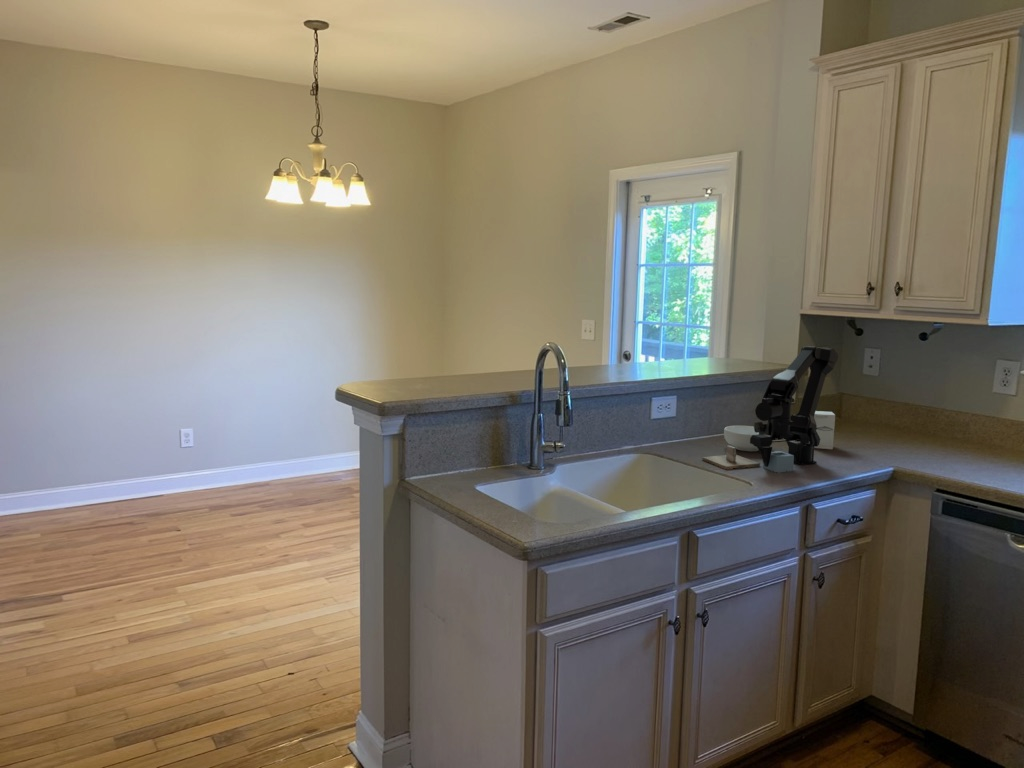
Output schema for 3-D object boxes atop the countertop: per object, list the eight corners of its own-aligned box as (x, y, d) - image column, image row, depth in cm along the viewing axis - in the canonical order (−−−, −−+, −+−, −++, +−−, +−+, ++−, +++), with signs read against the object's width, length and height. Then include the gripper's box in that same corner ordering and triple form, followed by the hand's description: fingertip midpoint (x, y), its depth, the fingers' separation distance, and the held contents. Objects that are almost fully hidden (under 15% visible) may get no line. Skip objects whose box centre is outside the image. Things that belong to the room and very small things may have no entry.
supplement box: (811, 448, 269) (813, 413, 267) (808, 444, 276) (810, 410, 275) (833, 449, 267) (835, 414, 266) (829, 445, 275) (832, 411, 273)
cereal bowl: (775, 455, 258) (776, 435, 257) (725, 453, 262) (726, 433, 261) (769, 445, 275) (770, 425, 274) (721, 442, 278) (722, 423, 277)
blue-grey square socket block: (779, 466, 244) (780, 450, 243) (793, 470, 238) (794, 455, 237) (763, 467, 242) (763, 452, 241) (776, 472, 236) (777, 457, 235)
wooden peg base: (735, 457, 256) (735, 441, 255) (759, 466, 244) (760, 449, 243) (702, 460, 251) (702, 444, 251) (726, 469, 239) (726, 452, 238)
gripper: (787, 411, 248) (784, 457, 251) (740, 414, 242) (737, 461, 244) (811, 417, 238) (808, 465, 240) (762, 420, 232) (760, 470, 234)
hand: (778, 465), depth 240 cm, fingers open, 9 cm apart
